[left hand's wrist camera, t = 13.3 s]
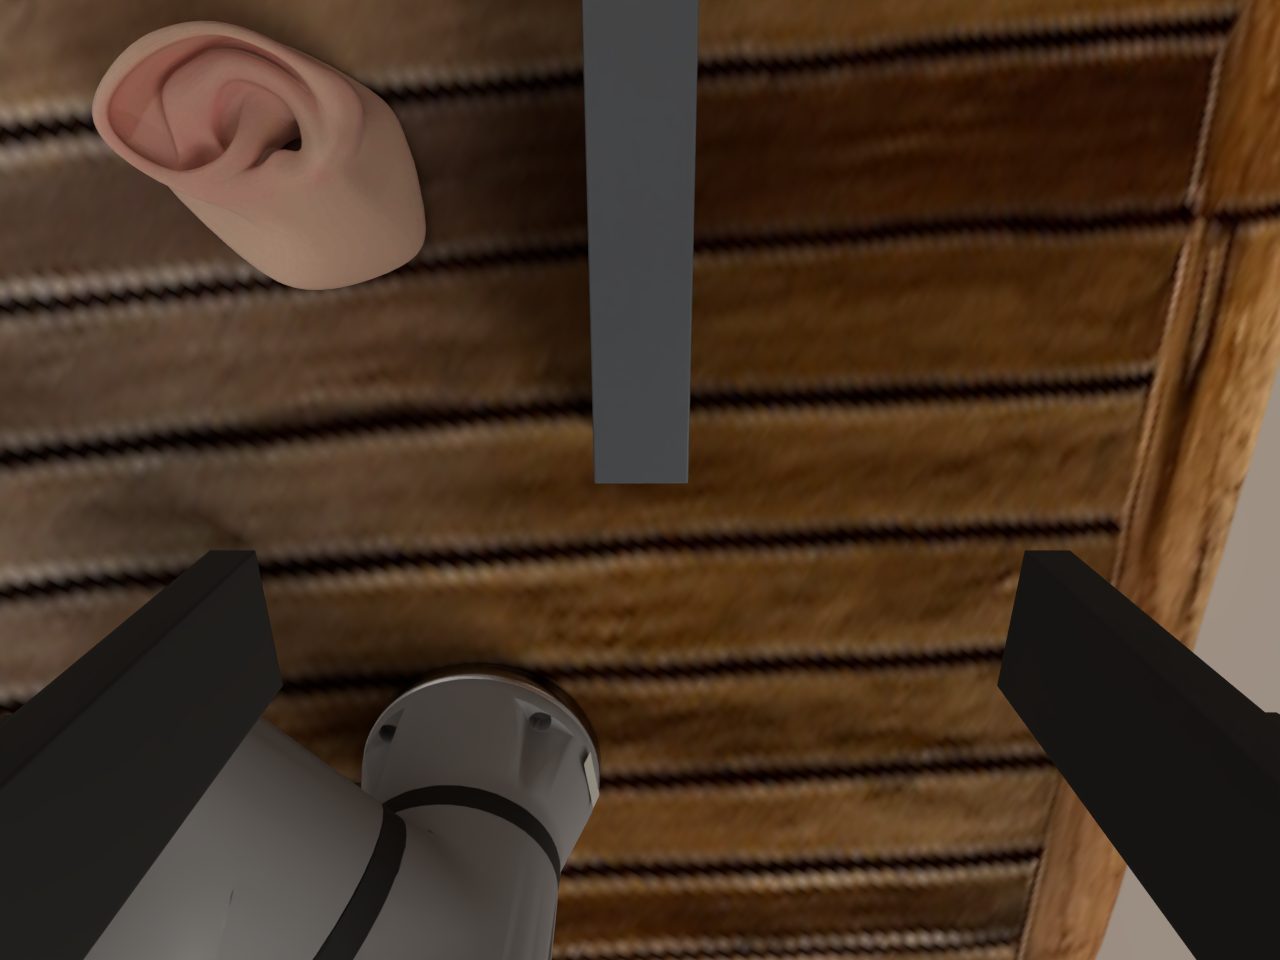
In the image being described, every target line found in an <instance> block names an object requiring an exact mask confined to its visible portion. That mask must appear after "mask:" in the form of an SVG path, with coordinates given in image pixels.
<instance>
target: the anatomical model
mask: <svg viewBox="0 0 1280 960" xmlns="http://www.w3.org/2000/svg"><path fill="white" fill-rule="evenodd" d="M92 115H93V120H94V124H95V126H96V128H97V130H98V132H99V134H100V135H101V137H102V138H103V140H104V141H105V142H106V143H107V144H108V145H109V146H110V147H111V148H112V149H113V150H114V151H115V152H116V153H117V154H118V155H120V156H121V157H122V158H123V159H125V160H126V161H127V162H129V163H130V164H132V165H133V166H134V167H136V168H137V169H139V170H140V171H142V172H144V173H145V174H147V175H149V176H150V177H152V178H154V179H155V180H157V181H159V182H161V183H163V184H165V185H167V186H168V187H169V188H170V189H171V190H172V191H173V192H174V193H175V195H176V196H177V197H178V198H179V199H180V200H181V201H182V202H183V203H184V204H185V205H186V206H187V207H188V208H189V209H190V210H191V211H192V212H193V213H194V214H195V215H196V216H197V217H198V218H199V219H200V220H201V221H202V222H203V223H204V224H205V225H206V226H207V227H209V228H210V229H211V230H212V231H213V232H214V233H215V234H216V235H217V236H218V237H219V238H221V239H222V240H223V241H224V242H225V243H226V244H227V245H228V246H229V247H231V248H232V249H233V250H234V251H235V252H236V253H238V254H239V255H240V256H241V257H242V258H244V259H245V260H246V261H248V262H249V263H250V264H251V265H253V266H254V267H255V268H257V269H258V270H260V271H261V272H263V273H264V274H266V275H267V276H269V277H271V278H272V279H274V280H276V281H278V282H280V283H283V284H285V285H288V286H291V287H295V288H300V289H307V290H324V289H335V288H340V287H345V286H350V285H354V284H357V283H361V282H364V281H367V280H370V279H373V278H376V277H378V276H381V275H383V274H386V273H389V272H391V271H393V270H395V269H397V268H398V267H400V266H402V265H404V264H405V263H407V262H409V261H410V260H411V259H412V258H413V257H415V256H416V255H417V254H418V252H419V251H420V250H421V248H422V246H423V243H424V240H425V234H426V223H425V212H424V205H423V200H422V195H421V190H420V185H419V180H418V175H417V171H416V167H415V163H414V160H413V157H412V154H411V151H410V148H409V146H408V143H407V140H406V137H405V134H404V132H403V129H402V127H401V124H400V122H399V120H398V119H397V117H396V115H395V113H394V112H393V111H392V109H391V108H390V107H389V106H388V104H387V103H386V102H385V101H384V100H383V99H381V98H380V97H379V96H378V95H376V94H375V93H374V92H372V91H371V90H370V89H368V88H367V87H365V86H363V85H362V84H360V83H359V82H357V81H355V80H354V79H352V78H351V77H349V76H347V75H346V74H344V73H342V72H340V71H338V70H337V69H335V68H333V67H331V66H330V65H328V64H326V63H324V62H322V61H320V60H318V59H316V58H314V57H312V56H310V55H308V54H306V53H303V52H301V51H299V50H297V49H294V48H292V47H289V46H287V45H283V44H281V43H279V42H277V41H275V40H273V39H271V38H269V37H267V36H264V35H262V34H260V33H258V32H255V31H253V30H250V29H247V28H244V27H241V26H238V25H234V24H229V23H224V22H218V21H192V22H185V23H180V24H175V25H171V26H168V27H164V28H161V29H158V30H156V31H153V32H151V33H149V34H147V35H145V36H143V37H141V38H140V39H138V40H137V41H136V42H134V43H133V44H131V45H130V46H129V47H128V48H127V49H126V50H125V51H124V52H123V53H122V54H121V55H120V56H119V57H118V58H117V59H116V60H115V61H114V63H113V64H112V65H111V67H110V68H109V69H108V71H107V72H106V74H105V75H104V77H103V78H102V80H101V82H100V84H99V86H98V88H97V90H96V94H95V97H94V100H93V106H92Z"/></svg>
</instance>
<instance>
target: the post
mask: <svg viewBox="0 0 1280 960" xmlns="http://www.w3.org/2000/svg"><path fill="white" fill-rule="evenodd" d="M698 14H699V0H582V29H583V67H584V106H585V144H586V182H587V221H588V259H589V297H590V336H591V374H592V412H593V451H594V482H595V483H688V465H689V420H690V375H691V330H692V285H693V239H694V194H695V149H696V104H697V59H698Z"/></svg>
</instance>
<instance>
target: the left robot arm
mask: <svg viewBox="0 0 1280 960" xmlns="http://www.w3.org/2000/svg"><path fill="white" fill-rule="evenodd" d="M282 686H283V685H282V680H281V675H280V670H279V665H278V660H277V655H276V650H275V646H274V641H273V636H272V631H271V626H270V621H269V616H268V611H267V606H266V602H265V597H264V592H263V587H262V582H261V577H260V572H259V567H258V562H257V557H256V553H255V551H209V552H208V553H207V554H205V555H204V556H203V557H202V558H201V559H199V560H198V561H197V562H196V563H195V564H193V565H192V566H191V567H190V568H189V569H187V570H186V571H185V572H184V573H182V574H181V575H180V576H179V577H178V578H176V579H175V580H174V581H173V582H172V583H170V584H169V585H168V586H167V587H166V588H164V589H163V590H162V591H161V592H160V593H158V594H157V595H156V596H155V597H154V598H152V599H151V600H150V601H149V602H148V603H146V604H145V605H144V606H143V607H141V608H140V609H139V610H138V611H137V612H135V613H134V614H133V615H132V616H131V617H129V618H128V619H127V620H126V621H125V622H123V623H122V624H121V625H120V626H119V627H117V628H116V629H115V630H114V631H113V632H111V633H110V634H109V635H108V636H107V637H105V638H104V639H103V640H102V641H100V642H99V643H98V644H97V645H96V646H94V647H93V648H92V649H91V650H90V651H88V652H87V653H86V654H85V655H84V656H82V657H81V658H80V659H79V660H78V661H76V662H75V663H74V664H73V665H72V666H70V667H69V668H68V669H67V670H66V671H64V672H63V673H62V674H61V675H60V676H58V677H57V678H56V679H55V680H53V681H52V682H51V683H50V684H49V685H47V686H46V687H45V688H44V689H43V690H41V691H40V692H39V693H38V694H37V695H35V696H34V697H33V698H32V699H31V700H29V701H28V702H27V703H26V704H25V705H23V706H22V707H21V708H20V709H19V710H17V711H16V712H15V713H14V714H12V715H4V716H2V717H0V960H551V957H552V948H553V938H554V928H555V919H556V909H557V899H558V889H559V881H560V873H561V870H562V868H563V866H564V865H565V863H566V861H567V859H568V857H569V855H570V853H571V851H572V849H573V848H574V846H575V844H576V842H577V840H578V838H579V836H580V834H581V832H582V830H583V829H584V827H585V825H586V823H587V821H588V819H589V817H590V815H591V812H592V810H593V808H594V805H595V803H596V801H597V799H598V797H599V791H598V789H599V781H600V765H601V758H600V749H599V744H598V740H597V737H596V734H595V732H594V730H593V727H592V725H591V723H590V722H589V720H588V718H587V717H586V715H585V714H584V713H583V711H582V710H581V709H580V707H579V706H578V705H577V704H576V703H575V702H574V701H573V700H572V699H571V698H570V697H569V696H568V695H566V694H565V693H564V692H563V691H561V690H560V689H559V688H557V687H556V686H555V685H553V684H551V683H549V682H548V681H546V680H544V679H542V678H540V677H538V676H536V675H534V674H531V673H529V672H526V671H523V670H520V669H516V668H513V667H508V666H504V665H497V664H489V663H466V664H458V665H451V666H447V667H442V668H439V669H436V670H433V671H430V672H428V673H425V674H423V675H421V676H419V677H417V678H415V679H413V680H412V681H410V682H409V683H407V684H406V685H404V686H403V687H402V688H401V689H399V690H398V691H397V692H396V693H395V694H394V695H393V696H392V697H391V698H390V699H389V701H388V702H387V703H386V705H385V706H384V707H383V709H382V711H381V712H380V714H379V716H378V718H377V720H376V722H375V724H374V726H373V728H372V730H371V732H370V734H369V737H368V739H367V742H366V746H365V750H364V756H363V762H362V781H361V783H353V782H351V781H350V780H349V779H347V778H346V777H345V776H343V775H342V774H340V773H339V772H338V771H336V770H335V769H334V768H332V767H331V766H329V765H328V764H327V763H325V762H324V761H322V760H321V759H320V758H318V757H317V756H316V755H314V754H313V753H311V752H310V751H309V750H307V749H306V748H305V747H303V746H302V745H300V744H299V743H298V742H296V741H295V740H294V739H292V738H291V737H289V736H288V735H287V734H285V733H284V732H283V731H281V730H280V729H278V728H277V727H276V726H274V725H273V724H271V723H270V722H269V721H267V720H266V719H265V718H263V717H262V716H261V715H262V713H263V712H264V711H265V709H266V708H267V707H268V705H269V704H270V702H271V701H272V700H273V698H274V697H275V696H276V694H277V693H278V691H279V690H280V689H281V687H282ZM997 686H998V687H999V689H1000V690H1001V691H1002V693H1003V694H1004V696H1005V697H1006V698H1007V700H1008V701H1009V702H1010V704H1011V705H1012V707H1013V708H1014V709H1015V711H1016V712H1017V713H1018V715H1019V716H1020V718H1021V719H1022V720H1023V722H1024V723H1025V724H1026V726H1027V727H1028V729H1029V730H1030V731H1031V733H1032V734H1033V735H1034V737H1035V738H1036V740H1037V741H1038V742H1039V744H1040V745H1041V746H1042V748H1043V749H1044V751H1045V752H1046V753H1047V755H1048V756H1049V757H1050V759H1051V760H1052V762H1053V763H1054V764H1055V766H1056V767H1057V769H1058V770H1059V771H1060V773H1061V774H1062V775H1063V777H1064V778H1065V780H1066V781H1067V782H1068V784H1069V785H1070V786H1071V788H1072V789H1073V791H1074V792H1075V793H1076V795H1077V796H1078V797H1079V799H1080V800H1081V802H1082V803H1083V804H1084V806H1085V807H1086V808H1087V810H1088V811H1089V813H1090V814H1091V815H1092V817H1093V818H1094V819H1095V821H1096V822H1097V824H1098V825H1099V826H1100V828H1101V829H1102V830H1103V832H1104V833H1105V835H1106V836H1107V837H1108V839H1109V840H1110V841H1111V843H1112V844H1113V846H1114V847H1115V848H1116V850H1117V851H1118V852H1119V854H1120V855H1121V857H1122V858H1123V859H1124V861H1125V862H1126V863H1127V865H1128V866H1129V868H1130V869H1131V870H1132V872H1133V873H1134V874H1135V876H1136V877H1137V879H1138V880H1139V881H1140V883H1141V884H1142V885H1143V887H1144V888H1145V890H1146V891H1147V892H1148V894H1149V895H1150V896H1151V898H1152V899H1153V900H1154V902H1155V903H1156V905H1157V906H1158V907H1159V909H1160V910H1161V912H1162V913H1163V914H1164V916H1165V917H1166V918H1167V920H1168V921H1169V923H1170V924H1171V925H1172V927H1173V928H1174V930H1175V931H1176V932H1177V934H1178V935H1179V936H1180V938H1181V939H1182V940H1183V942H1184V943H1185V945H1186V946H1187V947H1188V949H1189V950H1190V951H1191V953H1192V954H1193V956H1194V957H1195V958H1196V960H1280V714H1278V713H1276V712H1275V713H1272V712H1271V713H1270V712H1264V711H1263V710H1261V709H1260V708H1259V707H1258V706H1257V705H1255V704H1254V703H1253V702H1252V701H1251V700H1249V699H1248V698H1247V697H1246V696H1245V695H1243V694H1242V693H1241V692H1240V691H1239V690H1237V689H1236V688H1235V687H1234V686H1233V685H1231V684H1230V683H1229V682H1228V681H1227V680H1225V679H1224V678H1223V677H1222V676H1220V675H1219V674H1218V673H1217V672H1216V671H1214V670H1213V669H1212V668H1211V667H1210V666H1208V665H1207V664H1206V663H1205V662H1204V661H1202V660H1201V659H1200V658H1199V657H1198V656H1196V655H1195V654H1194V653H1193V652H1192V651H1190V650H1189V649H1188V648H1187V647H1186V646H1184V645H1183V644H1182V643H1181V642H1180V641H1178V640H1177V639H1176V638H1175V637H1173V636H1172V635H1171V634H1170V633H1169V632H1167V631H1166V630H1165V629H1164V628H1163V627H1161V626H1160V625H1159V624H1158V623H1157V622H1155V621H1154V620H1153V619H1152V618H1151V617H1149V616H1148V615H1147V614H1146V613H1145V612H1143V611H1142V610H1141V609H1140V608H1139V607H1137V606H1136V605H1135V604H1134V603H1132V602H1131V601H1130V600H1129V599H1128V598H1126V597H1125V596H1124V595H1123V594H1122V593H1120V592H1119V591H1118V590H1117V589H1116V588H1114V587H1113V586H1112V585H1111V584H1110V583H1108V582H1107V581H1106V580H1105V579H1104V578H1102V577H1101V576H1100V575H1099V574H1098V573H1096V572H1095V571H1094V570H1093V569H1091V568H1090V567H1089V566H1088V565H1087V564H1085V563H1084V562H1083V561H1082V560H1081V559H1079V558H1078V557H1077V556H1076V555H1075V554H1073V553H1072V552H1071V551H1025V553H1024V557H1023V562H1022V567H1021V572H1020V577H1019V582H1018V587H1017V592H1016V597H1015V601H1014V606H1013V611H1012V616H1011V621H1010V626H1009V631H1008V636H1007V641H1006V646H1005V650H1004V655H1003V660H1002V665H1001V670H1000V675H999V680H998V685H997Z"/></svg>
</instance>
